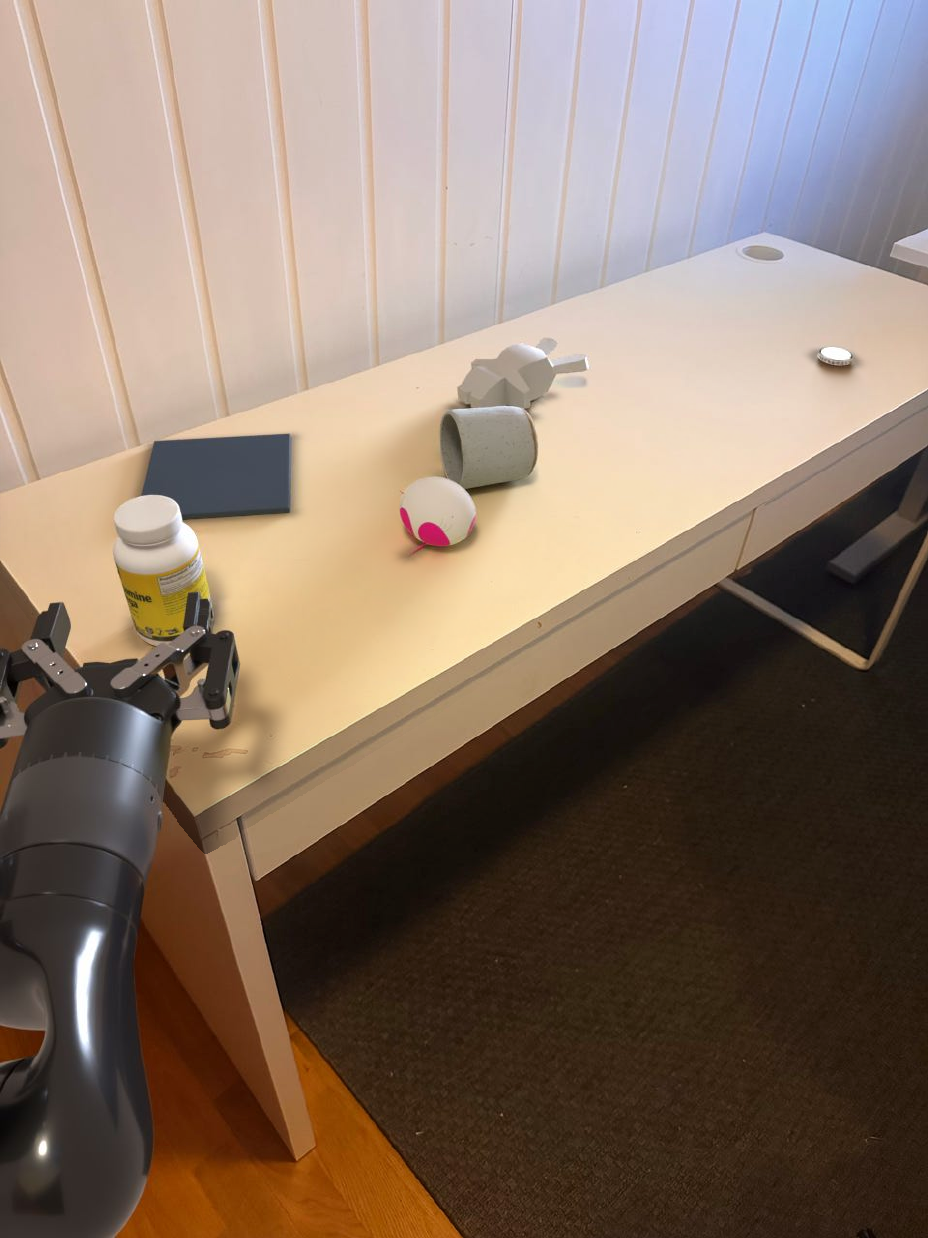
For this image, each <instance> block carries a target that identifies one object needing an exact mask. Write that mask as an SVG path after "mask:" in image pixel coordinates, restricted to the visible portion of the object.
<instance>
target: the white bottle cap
mask: <svg viewBox="0 0 928 1238" xmlns="http://www.w3.org/2000/svg"><path fill="white" fill-rule="evenodd" d="M853 356H854V355H853V353H852V352H851V351H849V350H847V349H845V348H841V347H838V346H824V347H821V348H820V349H819V350H818V353H817V358H818V359H819V360H820V361H822V362H823V363H826V364H829V365H834V366H847V365H849V364H851V363H852V360H853Z"/></svg>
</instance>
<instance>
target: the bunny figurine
mask: <svg viewBox="0 0 928 1238" xmlns="http://www.w3.org/2000/svg"><path fill="white" fill-rule="evenodd" d="M557 346H558V342H557V341H556V339H554V338H551V337H543V338H542V339H540V340H539V342H538V343H537V344H536V346H531V345H528V344H525V343H522V342H517V343H514V344H511V345H509V346H508V347H506V348H504V349H503V350H501V351H500V353H499V354H498V355H497V357H496V358H475V359H474V360H473V361H471V362H470V366H471V369H470V370H469V371H468V372H467V374H466V375H465V376H464V378H463V381H462V383H460V384H459V385H458V386H457V387H456V388H457V389H456V390H457V399H458V400H459V401H461V402H463V403H464V404H466V405H470V408H485V407H496V406H515V407H520V408H523V409H525V410H526V409H529V408H531V401H532V402H533V401H535V400H537V399H539V398H540V397H542V396H544V395H546V394H547V393H548V392H549V390H550V388H551V386H552V384H553V382H554V379H555V378H556V375H561V374H573V373H582V372H585V371H588V369H589V368H590V366H589V365H590V364H589V362H588V357H587V356H586V354H582V353H576V354H575V353H574V354H570V355H566V356H563V357H559V358H555V359H552V360H550V359H549V357H548V355H550V354H551V353H552V352H553V351H554V350H555V349H556V347H557Z"/></svg>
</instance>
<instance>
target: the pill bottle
mask: <svg viewBox="0 0 928 1238" xmlns="http://www.w3.org/2000/svg"><path fill="white" fill-rule="evenodd" d="M113 523H114V527H115V531H116V534H117V535H118V536H117V537H116V538H115V540H114V542H113V547H112V556H113V561H114V563H115V567H116V569H117V570H116V571H117V574H118V577H119V580H120V584H121V587H122V589H123V590H122V591H123V593H124V596H125V599H126V603H127V606H128V609H129V613H130V616H131V620H132V622H133V626H134V629H135V631H136V633H137V635H138V636H139V638H140V639H142V640H143V641H144V642H146V643H148V645H151V646H155V647H157V646H158V645H159V644H160V643H166V644H169V643H171V642H172V641H173V640H174V639H176V638H177V637H178V636H179V635H180V634H182V633H183V632H184V629H183V623H184V616H185V609H186V603H187V596H188V592H200V594H201V598H202V599H207V598H208V600H209V602H210V605H211V609H212V613H213V614H214V608H213V604H212V599H211V598H212V597H211V594H210V588H209V584H208V580H207V575H206V571H205V567H204V561H203V558H202V553H201V549H200V543H199V540H198V537H197V535H196V534H195V532H194V530H193V529H192V528H191V527H190V526H189V525H188V524H186V523H185V522H183V519H182V516H181V512H180V509H179V506H178V504H177V503H176V502H175V501H174V500H173V499H171V498H168V497H165V496H161V495H146V496H141V495H140V496H137V497H133V498H131V499H129V500H126V501H125V502H123V503H122V504H121V505H119V506H118V507H117V508H116V510H115V512H114V513H113Z"/></svg>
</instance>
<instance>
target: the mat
mask: <svg viewBox="0 0 928 1238" xmlns="http://www.w3.org/2000/svg"><path fill="white" fill-rule="evenodd" d="M291 439H292V438H291V433H274V434H273V433H272V434H257V435H239V436H238V435H237V436H222V437H220V436H219V437H201V438H186V439H184V438H183V439H167V440H165V439H164V440H154V441H153V444H152V448H151V453H150V456H149V457H150V458H149V461H148V465H147V469H146V475H145V478H144V483H143V487H142V491H141V495H140V496H146V495H161V496H165V497H168V498H171V499H173V500H174V501H175V502H176V503H177V504H178V506H179V509H180V512H181V516H182V520H195V519H197V520H198V519H209V518H224V517H227V518H228V517H240V516H241V517H243V516H256V515H257V516H258V515H271V514H284V513H285V514H286V513H290V508H291V503H290V502H291V443H292V442H291V441H292V440H291Z"/></svg>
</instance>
